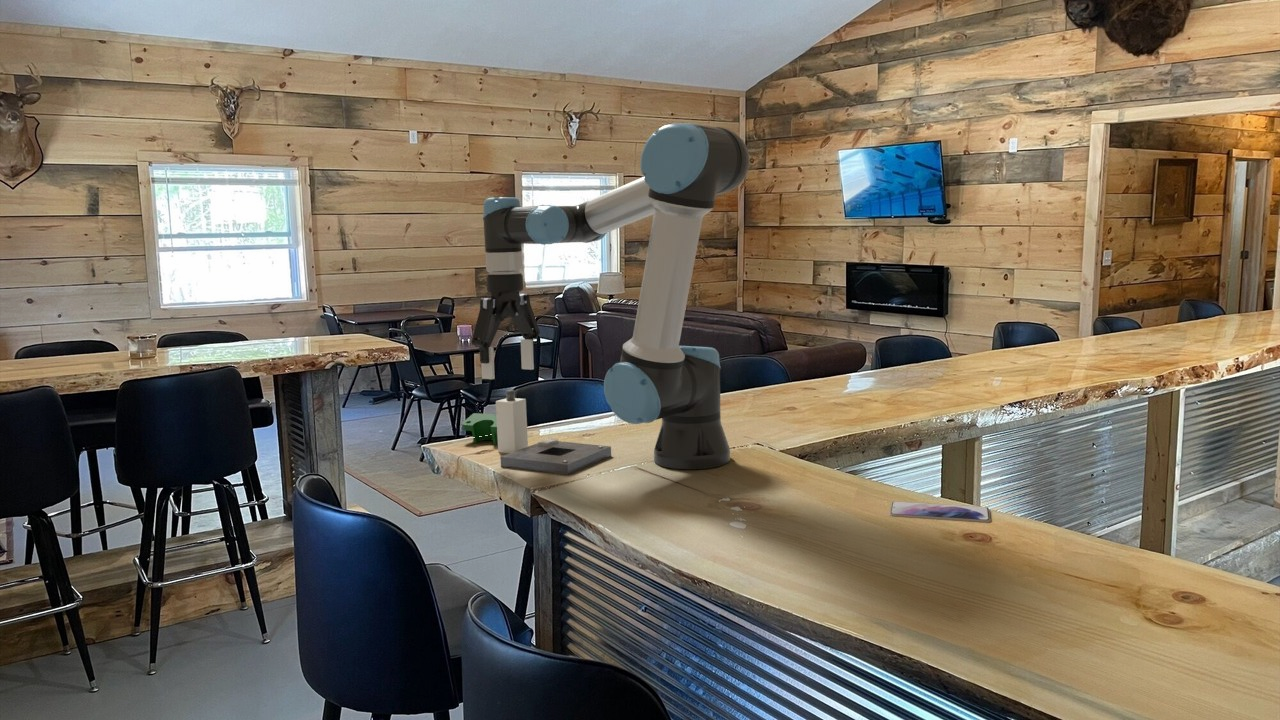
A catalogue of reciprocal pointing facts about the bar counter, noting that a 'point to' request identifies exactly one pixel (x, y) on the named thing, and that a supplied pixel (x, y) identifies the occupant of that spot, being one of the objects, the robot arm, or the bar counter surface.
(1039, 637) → the bar counter surface
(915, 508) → the smartphone
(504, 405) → the plug
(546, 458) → the socket
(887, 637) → the bar counter surface
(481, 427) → the clamp
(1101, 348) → the bar counter surface
